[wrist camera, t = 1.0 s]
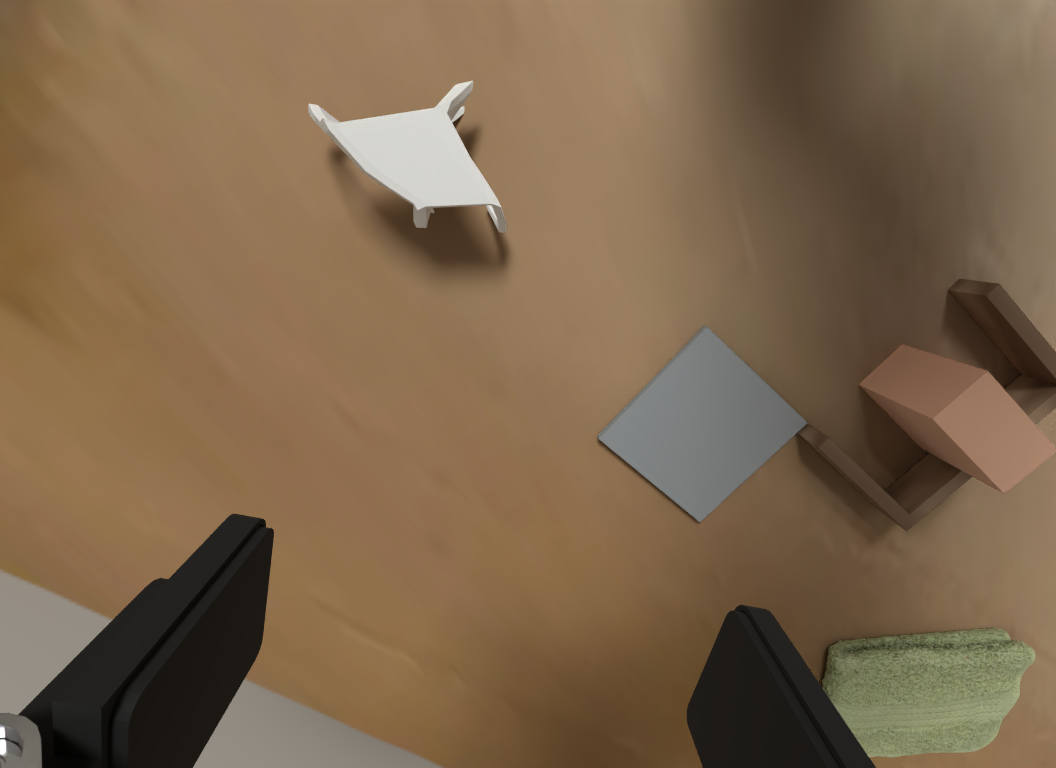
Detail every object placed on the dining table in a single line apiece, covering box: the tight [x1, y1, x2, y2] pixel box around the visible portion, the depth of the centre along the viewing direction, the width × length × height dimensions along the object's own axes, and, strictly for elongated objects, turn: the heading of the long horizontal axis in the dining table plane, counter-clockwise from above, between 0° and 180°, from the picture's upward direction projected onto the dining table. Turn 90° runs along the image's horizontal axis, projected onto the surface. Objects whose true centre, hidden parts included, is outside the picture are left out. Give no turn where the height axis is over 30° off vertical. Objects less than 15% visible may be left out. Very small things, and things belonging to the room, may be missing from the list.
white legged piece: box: [309, 81, 507, 233], centre depth 30 cm, size 12×8×5 cm
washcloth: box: [822, 627, 1035, 757], centre depth 46 cm, size 13×18×3 cm
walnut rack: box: [797, 279, 1056, 531], centre depth 37 cm, size 15×10×3 cm
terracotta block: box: [858, 344, 1056, 494], centre depth 35 cm, size 4×8×7 cm, turn 49°
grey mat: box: [598, 326, 808, 522], centre depth 38 cm, size 11×11×1 cm
